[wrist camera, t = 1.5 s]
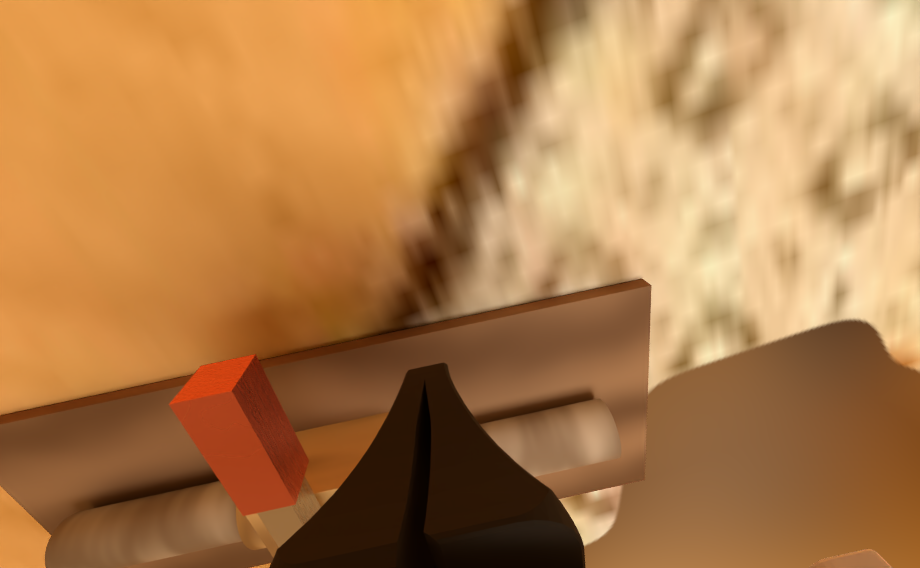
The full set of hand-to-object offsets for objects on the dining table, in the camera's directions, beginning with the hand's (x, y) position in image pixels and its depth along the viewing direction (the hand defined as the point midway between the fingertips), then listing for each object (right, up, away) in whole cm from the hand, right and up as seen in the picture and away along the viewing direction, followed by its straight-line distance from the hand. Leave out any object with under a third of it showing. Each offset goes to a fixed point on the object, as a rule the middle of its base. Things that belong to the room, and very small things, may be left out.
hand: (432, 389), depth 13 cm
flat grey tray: (-5, -6, +9) cm, 12 cm away
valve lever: (-6, -4, +2) cm, 7 cm away
